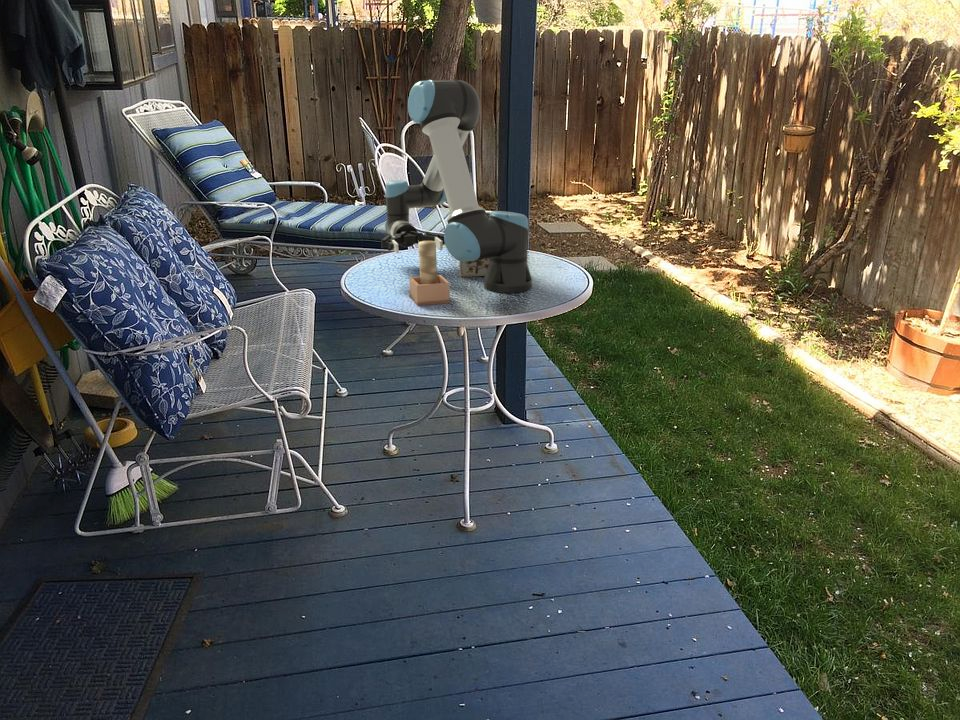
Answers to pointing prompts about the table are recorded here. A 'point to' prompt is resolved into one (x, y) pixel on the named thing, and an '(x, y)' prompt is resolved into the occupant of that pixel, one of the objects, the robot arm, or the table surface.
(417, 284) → the box
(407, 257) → the table surface
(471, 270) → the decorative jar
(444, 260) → the table surface
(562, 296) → the table surface
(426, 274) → the peg
